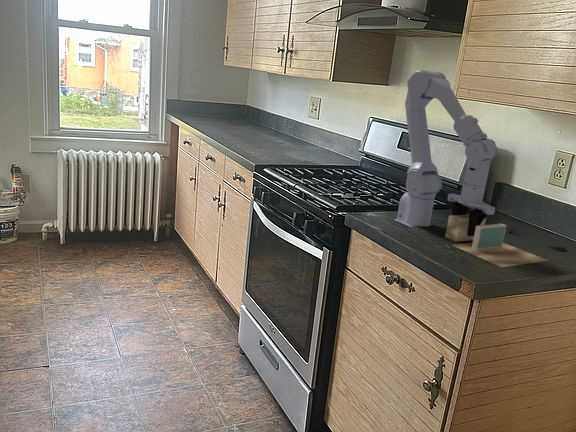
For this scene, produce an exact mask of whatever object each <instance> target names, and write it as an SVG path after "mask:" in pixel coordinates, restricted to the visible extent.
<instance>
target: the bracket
mask: <svg viewBox="0 0 576 432" xmlns="http://www.w3.org/2000/svg"><path fill="white" fill-rule="evenodd" d="M507 234H510V235H514V236H516V237H519V238H521V239H523V240H526V241H529V242H531V240H530V239H529V238H527V237H525V236H524V235H522V234H521V233H520V232H519V231H518V229H516V228H509V229H508V230H507ZM536 244H537V245H539V246H537V245H535V246H534V245H531V246H529V245H522V247H523V248H548V249H551V250H554V251H556V252H567V247H566V246H562V245H561V246H560V245H559V246H554V245H553V246H551V245H545V244H541V243H537V242H536Z"/></svg>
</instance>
